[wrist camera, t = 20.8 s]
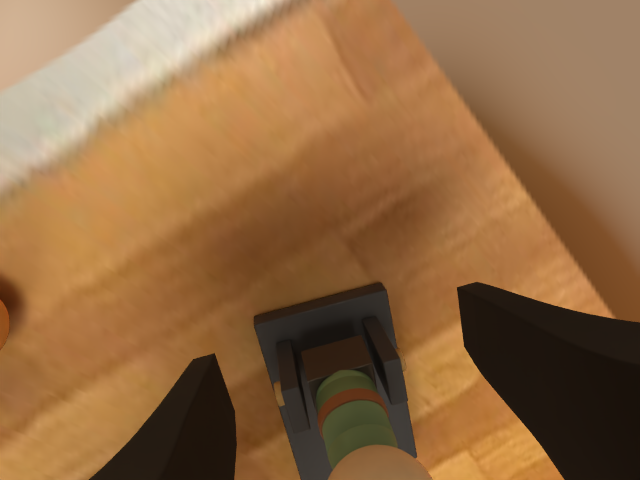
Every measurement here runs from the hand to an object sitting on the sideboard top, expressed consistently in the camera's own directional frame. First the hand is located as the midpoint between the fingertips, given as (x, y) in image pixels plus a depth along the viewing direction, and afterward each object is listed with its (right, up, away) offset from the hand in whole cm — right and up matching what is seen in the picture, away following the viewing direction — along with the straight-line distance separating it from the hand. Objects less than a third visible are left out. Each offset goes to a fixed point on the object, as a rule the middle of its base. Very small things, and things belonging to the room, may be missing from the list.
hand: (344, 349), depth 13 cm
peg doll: (0, -3, +9) cm, 10 cm away
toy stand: (0, -5, +13) cm, 14 cm away
